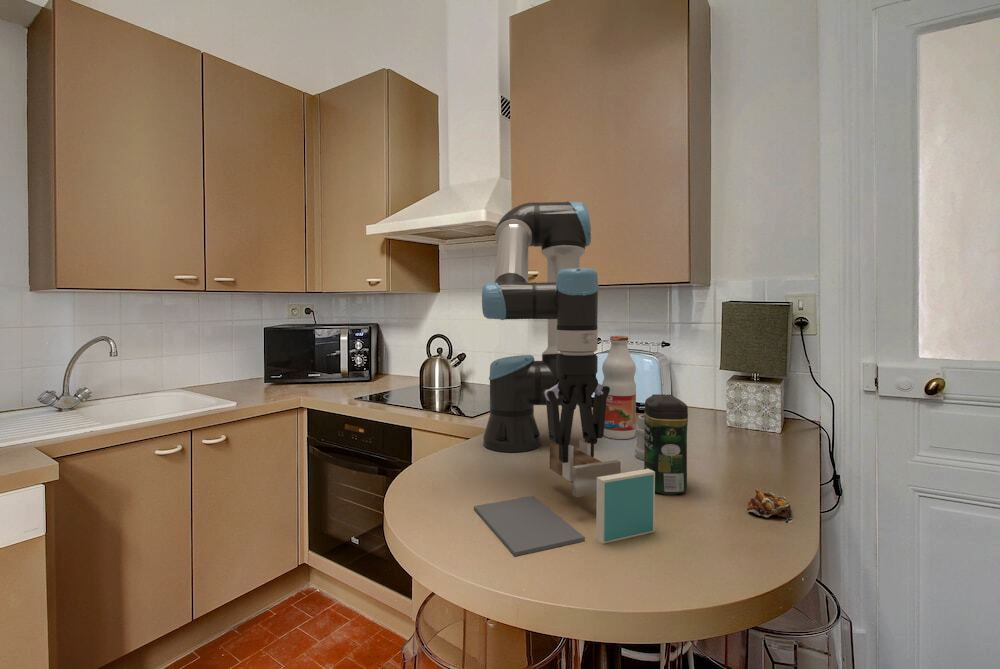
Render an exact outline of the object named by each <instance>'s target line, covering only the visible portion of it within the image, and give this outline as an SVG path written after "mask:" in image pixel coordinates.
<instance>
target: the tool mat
mask: <svg viewBox="0 0 1000 669" xmlns="http://www.w3.org/2000/svg"><path fill="white" fill-rule="evenodd" d="M473 510H474V511H475V512H476V513H477V515H478V516H479V517H480V518H481V519H482V521H483V522H484V523H485V524H486V525H487V526H488V527H489V528H490V529H491V531H492V532H493V533H494V534H495V535H496V537H497V538H498V539H499V540H500V541H501V542H502V544H503V545H504V546H505V547H506V548H507V549H508V551H510V553H511V554H512V556H514V557H518V556H522V555H523V556H524V555H526V554H527V555H529V554H531V553H536V552H541V551H545V550H546V551H547V550H549V549H550V550H551V549H554V548H558V547H563V546H568V545H569V546H570V545H572V544H576V543H577V544H578V543H581V542H585V540H586V536H584V535H582V533H580V532H579V531H578V530H577V529H575V528H574V527H573V526H572V525H570V524H569V523H568V522H567V521H565V520H564V519H563V518H562V517H560V516H559V515H558V514H557V513H556V512H555V511H553V510H552V509H550V508H549V507H548V506H547V505H546V504H545V503H543V502H542V501H540V500H539V499H538V498H537V497H536V496H534V495H532V496H531V495H530V496H525V497H519V498H514V499H508V500H507V499H506V500H501V501H495V502H490V503H485V504H477V505H474V506H473Z"/></svg>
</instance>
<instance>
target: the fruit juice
mask: <svg viewBox="0 0 1000 669" xmlns="http://www.w3.org/2000/svg"><path fill="white" fill-rule="evenodd" d="M609 340H610V348H609V351H608V353H607V356H606V358H605V359H604V361H603V363H602V368H601V371H602V373H603V380H602V383H601V385H604V386H608V387H609V388H610V391H609V394H608V397H607V399H606V411H605V424H604V435H603V437H605V438H609V439H614V440H630V439H633V438H635V436H636V433H637V431H636V428H637V427H636V424H637V420H636V418H637V385H636V382H635V374H636V372H637V368H636V363H635V361H634V360H633V357H631V353H630V351H629V348H628V343H629V336H628V335H611V336H610V339H609Z"/></svg>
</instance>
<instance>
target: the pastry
mask: <svg viewBox="0 0 1000 669" xmlns="http://www.w3.org/2000/svg"><path fill="white" fill-rule="evenodd" d="M755 493H756V494H755V495H754V497H752V498H750V500H748V502H747V503H748V504H747V512H751V513H753V514H754V515H758V516H762V517H765V518H769V517H771V516H774V515H775V516H778V517H782V518H785V519H786V520H787V519H788V520H787V521H786V520H785V521H786V522H785V523H786V524H789V523H791V524H793V523H794V521H793V518H792V517H791V516H790V514H789V512H790V510H791V509H792V507H791V504H790V503H789V502H788V501H787V498H786V497H785V496H782V497H781V496H780V495H776V494H775V493H773V492H771V491H770V492H766V491H765V492H763V493H762V491H761V490H760V489H758V488H757V487H756V488H755ZM789 518H791V519H789Z"/></svg>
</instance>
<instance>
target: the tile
mask: <svg viewBox="0 0 1000 669" xmlns="http://www.w3.org/2000/svg"><path fill="white" fill-rule="evenodd" d="M655 493H656V492H655V472H654V471H652V470H650V469H644V468H643V469H640V470H639V469H638V470H633V471H626V472H621V473H619V474H613V475H607V476H601V477H597V494H596V512H595V513H596V523H595V525H596V526H595V527H596V528H595V529H596V530H595V531H596V532H595V536H596V539H595V540H596V541H598V542H599V543H600V544H601V545H604V544H607V543H608V544H609V543H613V542H617V541H621V540H626V539H630V538H635V537H638V536H643V535H648V534H651V533H655V503H656V501H655V500H656V496H655V495H656V494H655Z"/></svg>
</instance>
